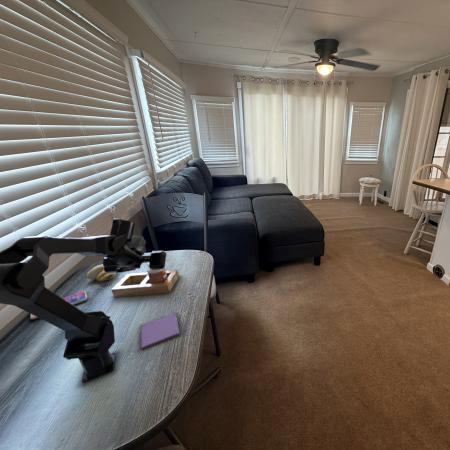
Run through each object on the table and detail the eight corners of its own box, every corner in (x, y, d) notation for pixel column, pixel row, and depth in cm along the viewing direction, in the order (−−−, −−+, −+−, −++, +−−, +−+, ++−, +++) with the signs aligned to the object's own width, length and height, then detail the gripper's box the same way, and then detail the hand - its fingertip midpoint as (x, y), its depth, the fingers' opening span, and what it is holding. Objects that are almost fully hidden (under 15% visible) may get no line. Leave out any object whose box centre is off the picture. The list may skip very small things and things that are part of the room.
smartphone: (30, 308, 85) (85, 290, 95) (32, 311, 85) (86, 292, 95) (29, 318, 80) (87, 298, 90) (30, 321, 80) (88, 300, 90)
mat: (179, 334, 74) (179, 332, 74) (141, 348, 69) (141, 347, 69) (175, 315, 82) (175, 313, 82) (141, 327, 77) (141, 325, 77)
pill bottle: (169, 286, 98) (163, 262, 94) (152, 291, 95) (145, 267, 91) (167, 279, 103) (162, 256, 99) (151, 284, 99) (144, 260, 95)
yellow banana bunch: (109, 256, 111) (113, 266, 100) (116, 266, 114) (120, 278, 103) (83, 266, 105) (84, 278, 95) (90, 277, 108) (92, 290, 97)
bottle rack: (169, 292, 94) (167, 284, 93) (113, 297, 92) (111, 289, 91) (179, 276, 104) (177, 269, 103) (129, 280, 102) (127, 273, 101)
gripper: (157, 230, 80) (176, 245, 94) (97, 234, 78) (126, 249, 92) (152, 262, 76) (173, 273, 90) (89, 267, 74) (120, 277, 88)
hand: (148, 267), depth 90 cm, fingers open, 9 cm apart
